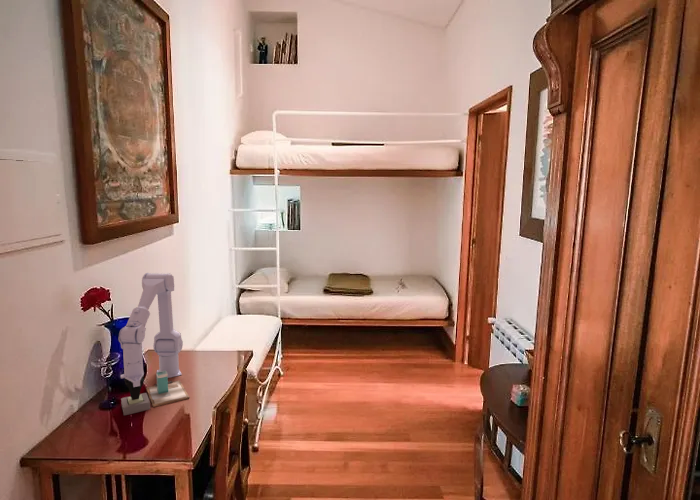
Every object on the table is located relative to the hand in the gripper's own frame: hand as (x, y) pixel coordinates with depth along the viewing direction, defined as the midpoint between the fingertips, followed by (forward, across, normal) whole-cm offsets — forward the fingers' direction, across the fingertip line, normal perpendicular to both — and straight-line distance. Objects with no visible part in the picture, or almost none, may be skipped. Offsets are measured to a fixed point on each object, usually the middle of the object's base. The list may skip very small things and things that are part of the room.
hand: (135, 398), depth 145 cm
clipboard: (+3, -5, +11) cm, 12 cm away
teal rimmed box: (+2, -6, +10) cm, 12 cm away
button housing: (+3, 0, 0) cm, 3 cm away
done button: (+3, 0, 0) cm, 3 cm away
